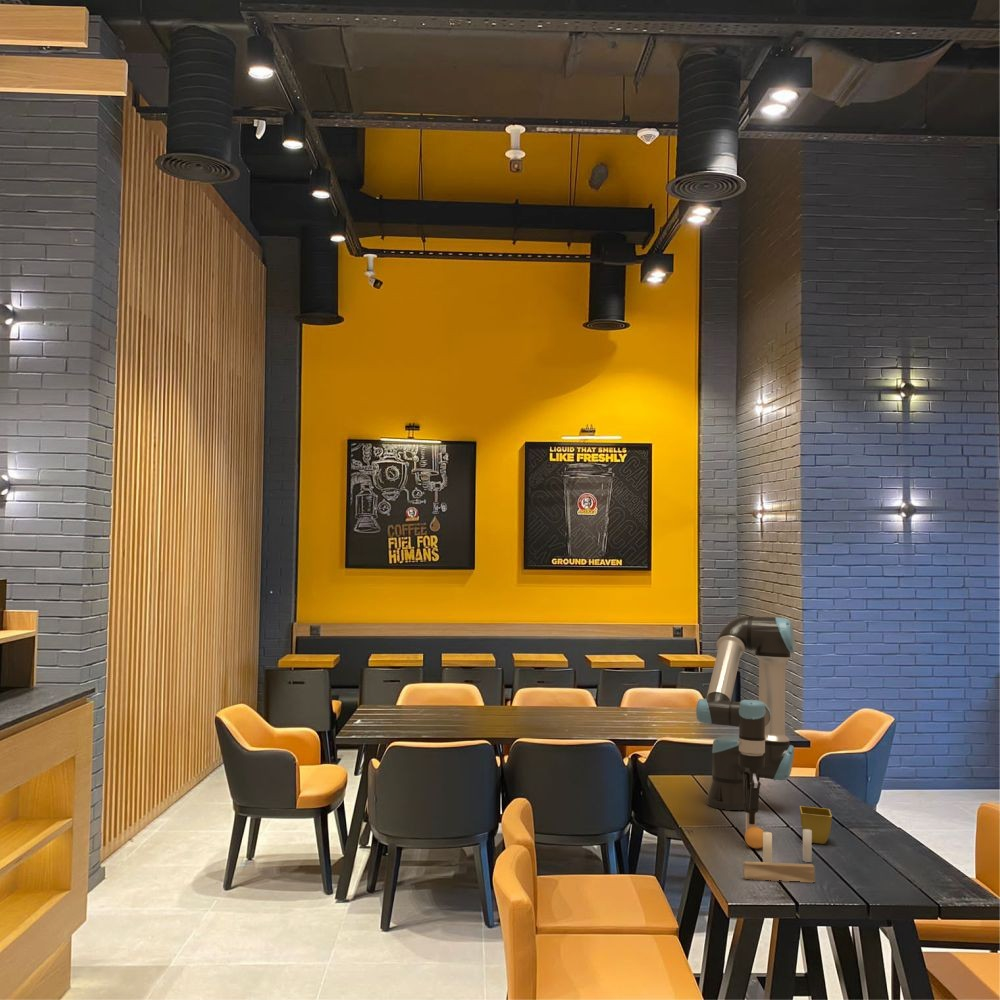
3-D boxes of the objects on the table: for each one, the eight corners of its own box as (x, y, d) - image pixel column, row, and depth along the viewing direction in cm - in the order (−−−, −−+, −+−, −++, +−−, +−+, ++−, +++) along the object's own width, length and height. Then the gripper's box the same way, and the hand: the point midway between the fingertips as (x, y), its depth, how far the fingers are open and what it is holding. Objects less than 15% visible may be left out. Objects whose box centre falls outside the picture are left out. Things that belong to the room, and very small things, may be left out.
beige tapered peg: (801, 859, 253) (801, 828, 254) (810, 860, 253) (810, 829, 254) (804, 862, 251) (804, 831, 251) (812, 862, 251) (812, 831, 251)
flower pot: (829, 838, 274) (829, 808, 274) (832, 847, 265) (832, 816, 266) (799, 835, 276) (799, 805, 277) (800, 844, 268) (800, 813, 268)
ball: (742, 842, 266) (743, 822, 266) (762, 842, 266) (763, 823, 265) (746, 851, 260) (747, 832, 260) (767, 852, 260) (768, 832, 259)
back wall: (743, 876, 238) (743, 861, 238) (812, 879, 237) (812, 864, 238) (745, 879, 236) (745, 864, 236) (814, 882, 235) (814, 866, 236)
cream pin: (761, 862, 250) (762, 831, 250) (770, 863, 250) (770, 831, 250) (764, 865, 247) (764, 834, 248) (772, 866, 247) (773, 834, 248)
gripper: (734, 748, 275) (733, 827, 273) (743, 757, 262) (742, 840, 260) (759, 749, 275) (758, 828, 273) (769, 758, 262) (768, 841, 260)
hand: (750, 834), depth 267 cm, fingers closed
